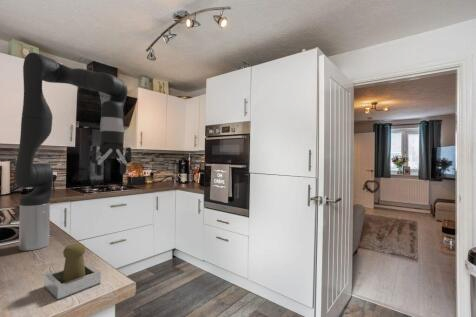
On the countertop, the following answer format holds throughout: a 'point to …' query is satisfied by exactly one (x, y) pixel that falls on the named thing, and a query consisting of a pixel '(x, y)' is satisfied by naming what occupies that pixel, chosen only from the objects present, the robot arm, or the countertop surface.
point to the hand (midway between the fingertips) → (111, 174)
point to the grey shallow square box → (71, 282)
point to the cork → (73, 262)
